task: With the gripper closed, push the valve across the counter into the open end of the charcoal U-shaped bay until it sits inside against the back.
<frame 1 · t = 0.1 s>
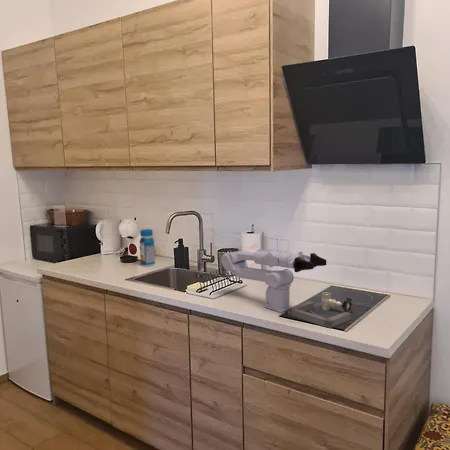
hand: (319, 264, 174), 22 cm above the worktop, tool horizontal, fingers open, 7 cm apart
chassis bay: (319, 316, 181), on the worktop
valve: (334, 311, 188), on the worktop
beverage bottle: (147, 264, 269), on the worktop
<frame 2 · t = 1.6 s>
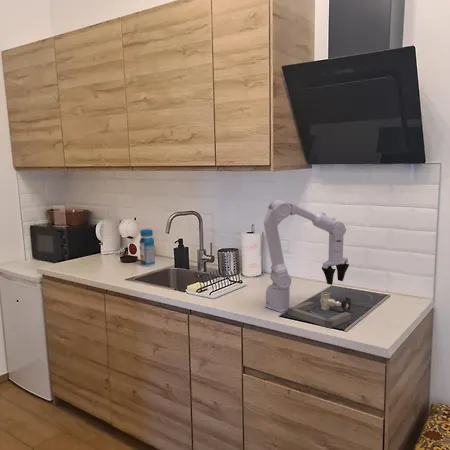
hand: (335, 282, 194), 9 cm above the worktop, tool pointing down, fingers open, 7 cm apart
nothing on the worktop moved.
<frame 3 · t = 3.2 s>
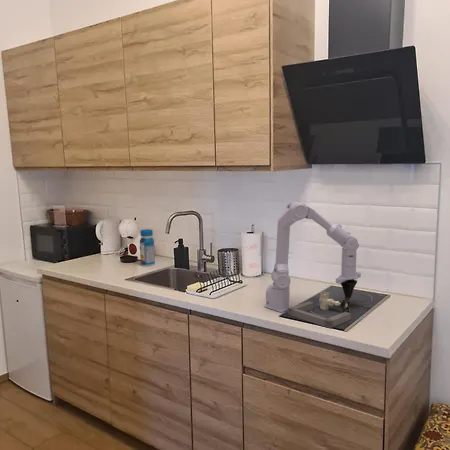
hand: (348, 297, 193), 4 cm above the worktop, tool pointing down, fingers closed
nothing on the worktop moved.
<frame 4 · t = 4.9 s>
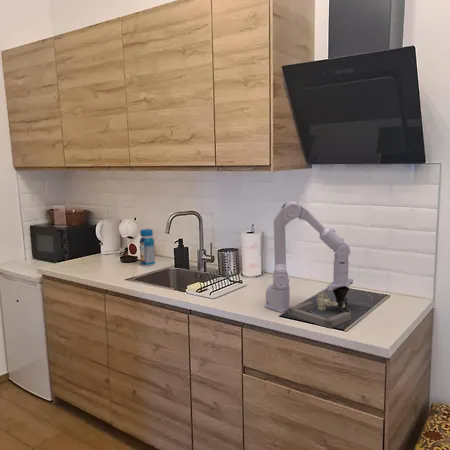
hand: (340, 304, 190), 2 cm above the worktop, tool pointing down, fingers closed
valve: (330, 311, 188), on the worktop
everything else where it was.
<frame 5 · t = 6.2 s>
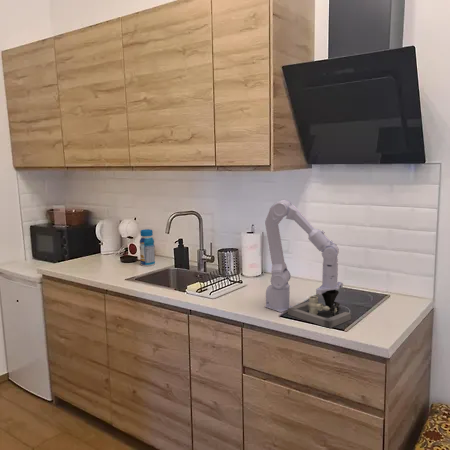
hand: (329, 308, 185), 2 cm above the worktop, tool pointing down, fingers closed
valve: (322, 316, 183), on the worktop, touching gripper
everything else where it was.
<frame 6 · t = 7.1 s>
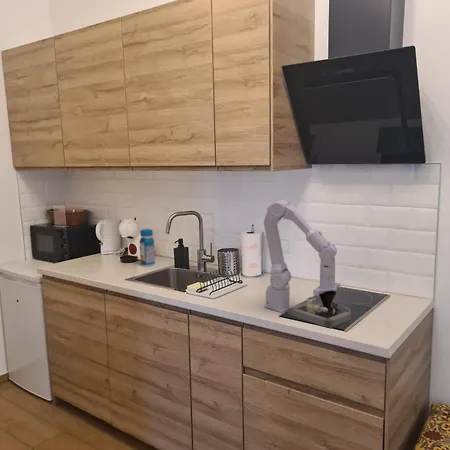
hand: (326, 309, 184), 2 cm above the worktop, tool pointing down, fingers closed
valve: (320, 317, 182), on the worktop, touching gripper
everything else where it was.
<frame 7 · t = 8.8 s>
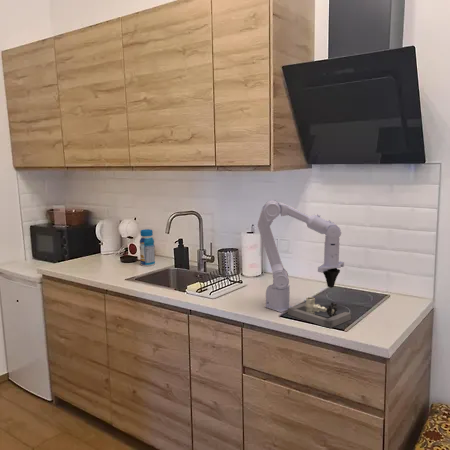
hand: (330, 286, 189), 9 cm above the worktop, tool pointing down, fingers closed
valve: (319, 317, 182), on the worktop
everything else where it was.
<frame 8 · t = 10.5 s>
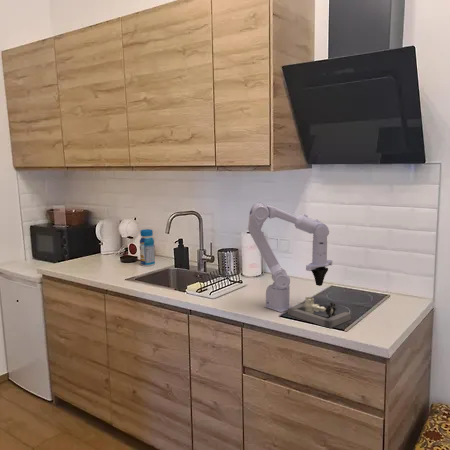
hand: (319, 285, 191), 9 cm above the worktop, tool pointing down, fingers closed
nothing on the worktop moved.
at the end: valve 0.9 cm off-centre on the chassis bay, point 0.0 cm above the chassis bay's base; valve tilted 0°; valve moved 9.7 cm from its start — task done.
